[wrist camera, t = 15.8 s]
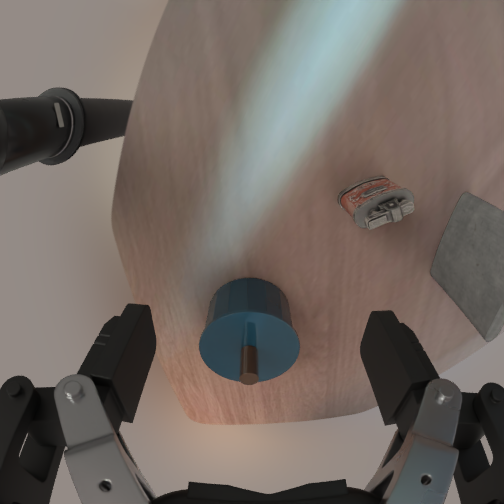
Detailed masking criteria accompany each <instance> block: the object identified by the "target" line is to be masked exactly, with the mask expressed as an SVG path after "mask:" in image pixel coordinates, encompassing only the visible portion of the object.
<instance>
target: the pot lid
mask: <svg viewBox="0 0 504 504" xmlns="http://www.w3.org/2000/svg"><path fill="white" fill-rule="evenodd" d="M199 350H200V354H201V357H202V359H203V361H204V362H205V364H206V365H207V366H208V367H209V368H210V369H211V370H212V371H214V372H215V373H217V374H218V375H220V376H222V377H225V378H227V379H230V380H234V381H239V382H241V383H243V384H246V385H253V384H255V383H257V382H261V381H266V380H269V379H273V378H275V377H277V376H279V375H281V374H283V373H284V372H286V371H287V370H288V369H289V368H290V367H291V366H292V365H293V364H294V363H295V361H296V359H297V357H298V355H299V350H300V343H299V338H298V335H297V333H296V331H295V329H294V328H293V327H292V326H291V325H290V324H289V323H288V322H287V321H286V320H284V319H283V318H281V317H280V316H278V315H275V314H273V313H270V312H267V311H262V310H254V309H243V310H236V311H231V312H228V313H225V314H223V315H221V316H219V317H217V318H215V319H214V320H212V321H211V322H210V323H209V324H208V325H207V326H206V327H205V329H204V330H203V332H202V334H201V337H200V342H199Z"/></svg>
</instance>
